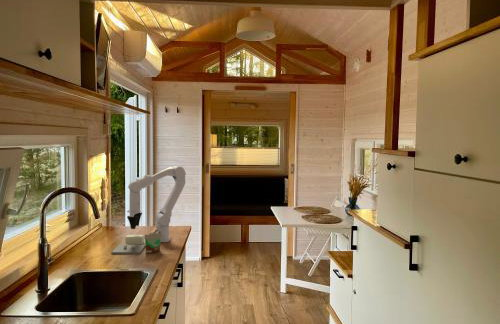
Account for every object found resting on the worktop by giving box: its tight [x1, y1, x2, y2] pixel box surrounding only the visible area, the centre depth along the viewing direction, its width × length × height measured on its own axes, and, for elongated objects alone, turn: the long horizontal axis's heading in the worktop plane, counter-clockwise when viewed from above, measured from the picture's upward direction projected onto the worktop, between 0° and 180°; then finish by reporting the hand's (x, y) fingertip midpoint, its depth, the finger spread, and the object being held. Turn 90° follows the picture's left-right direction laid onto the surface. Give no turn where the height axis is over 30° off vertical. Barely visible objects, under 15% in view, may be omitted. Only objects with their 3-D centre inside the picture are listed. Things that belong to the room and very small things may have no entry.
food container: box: [144, 229, 162, 255], centre depth 192 cm, size 12×6×10 cm, turn 168°
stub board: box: [111, 244, 146, 255], centre depth 193 cm, size 14×14×3 cm
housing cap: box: [124, 234, 145, 245], centre depth 205 cm, size 5×9×4 cm, turn 94°
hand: (134, 227), depth 205 cm, fingers open, 7 cm apart
